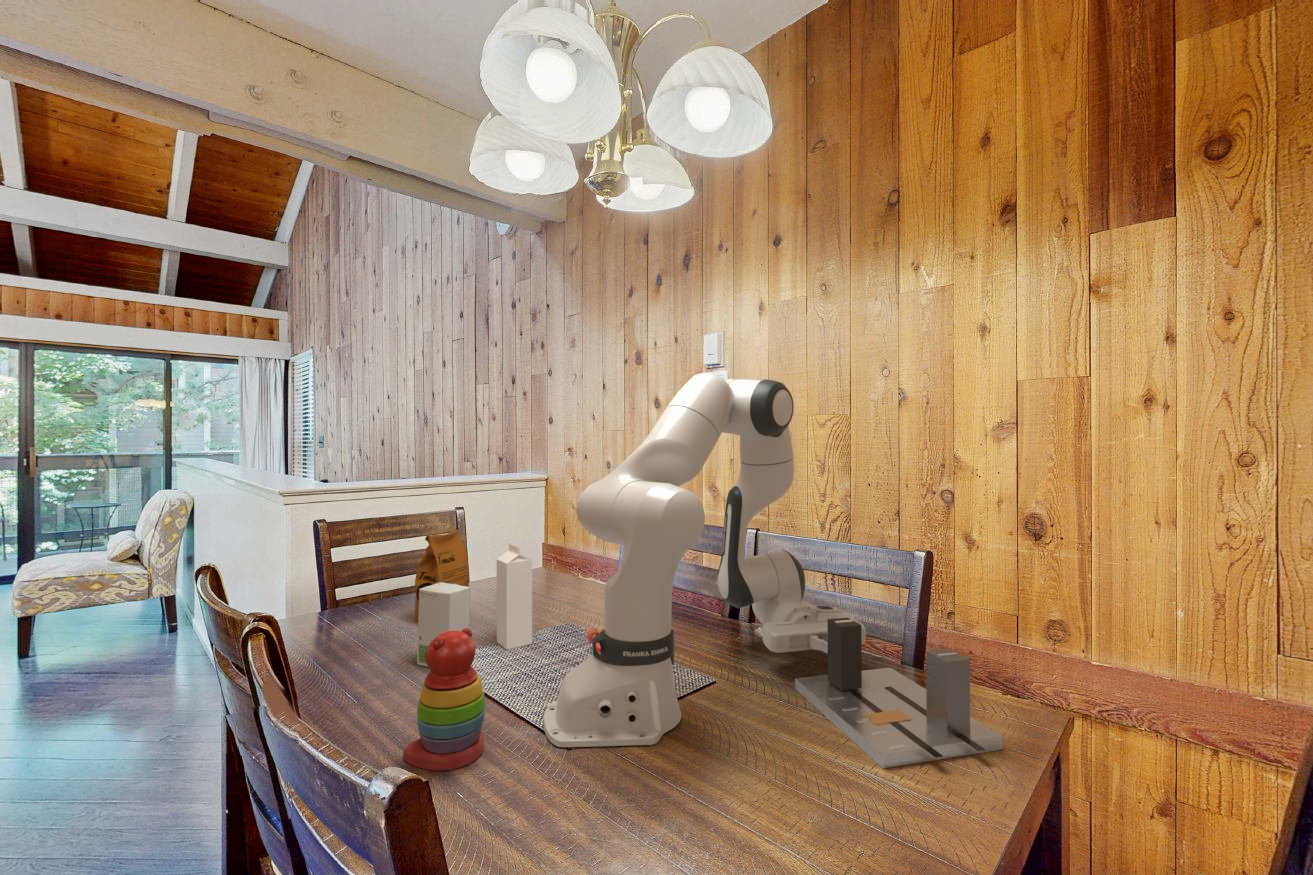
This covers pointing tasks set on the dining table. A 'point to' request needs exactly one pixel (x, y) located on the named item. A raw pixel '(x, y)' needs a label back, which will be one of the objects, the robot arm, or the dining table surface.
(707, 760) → the dining table surface
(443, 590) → the skincare box
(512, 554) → the milk
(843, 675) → the fader knob
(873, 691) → the console
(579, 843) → the dining table surface
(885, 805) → the dining table surface
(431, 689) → the stacking bear
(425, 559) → the coffee package
